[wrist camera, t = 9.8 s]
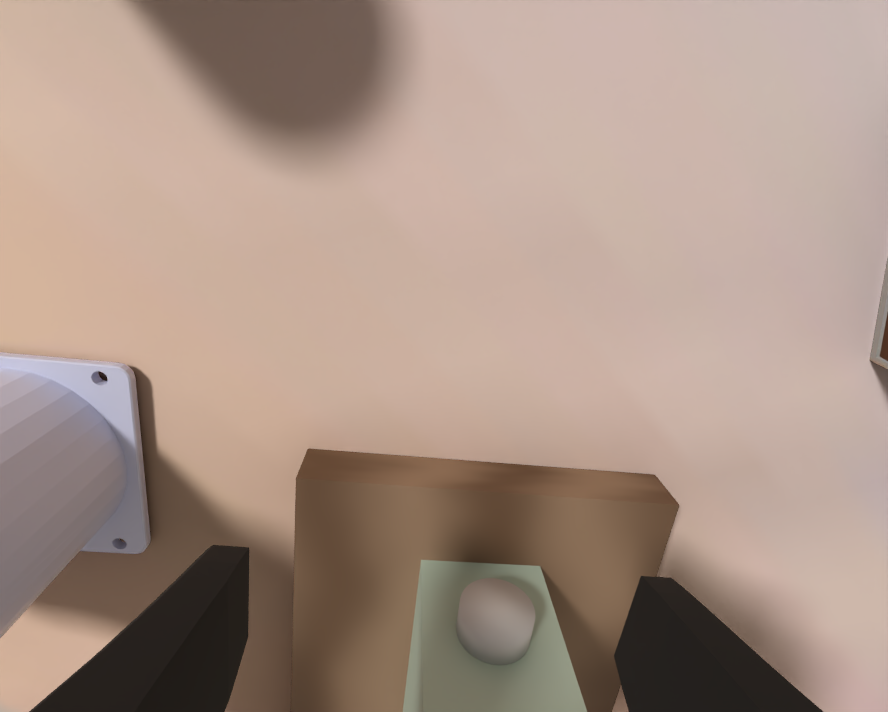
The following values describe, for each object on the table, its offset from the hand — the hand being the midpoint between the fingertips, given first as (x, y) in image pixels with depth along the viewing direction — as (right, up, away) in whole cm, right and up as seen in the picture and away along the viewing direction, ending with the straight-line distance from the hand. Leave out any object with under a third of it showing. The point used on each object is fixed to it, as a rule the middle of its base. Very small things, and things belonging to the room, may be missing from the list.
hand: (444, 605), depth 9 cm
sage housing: (+1, -8, +11) cm, 13 cm away
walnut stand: (+1, -7, +13) cm, 15 cm away
